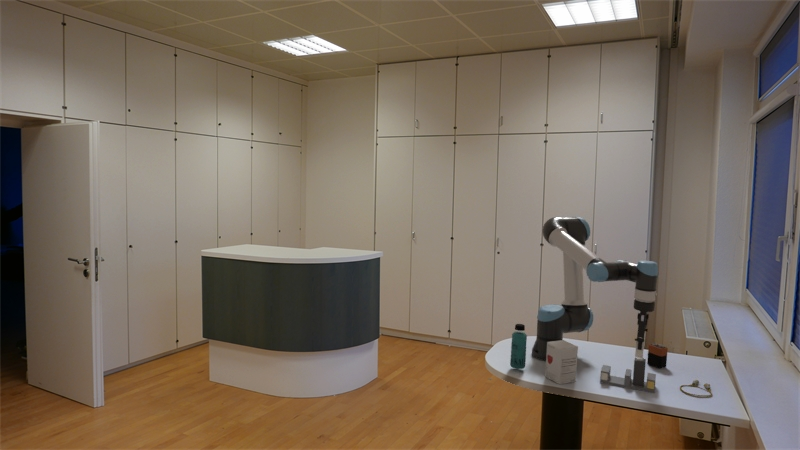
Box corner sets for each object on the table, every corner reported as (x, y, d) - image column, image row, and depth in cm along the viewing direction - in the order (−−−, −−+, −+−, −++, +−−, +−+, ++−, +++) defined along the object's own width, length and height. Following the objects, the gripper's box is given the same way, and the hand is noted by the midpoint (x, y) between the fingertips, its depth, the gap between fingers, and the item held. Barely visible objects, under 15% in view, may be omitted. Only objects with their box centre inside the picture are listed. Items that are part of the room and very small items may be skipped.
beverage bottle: (513, 366, 231) (515, 321, 229) (527, 369, 227) (530, 324, 225) (507, 370, 226) (509, 324, 224) (521, 374, 222) (524, 327, 220)
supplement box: (544, 376, 220) (546, 341, 218) (561, 373, 224) (563, 339, 222) (559, 384, 212) (561, 348, 210) (576, 381, 215) (578, 346, 214)
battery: (660, 369, 232) (661, 346, 231) (646, 364, 238) (648, 342, 237) (666, 367, 234) (668, 345, 233) (653, 362, 240) (654, 341, 239)
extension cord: (725, 394, 207) (726, 389, 207) (698, 400, 201) (698, 395, 201) (697, 383, 218) (697, 378, 218) (670, 388, 212) (670, 383, 212)
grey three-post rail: (600, 382, 215) (600, 371, 214) (602, 376, 222) (603, 364, 221) (654, 393, 205) (655, 380, 205) (655, 386, 213) (655, 374, 212)
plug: (632, 384, 211) (634, 358, 210) (633, 381, 215) (635, 356, 214) (643, 386, 209) (645, 360, 208) (644, 383, 213) (645, 357, 212)
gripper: (654, 308, 196) (648, 363, 198) (655, 294, 218) (651, 344, 220) (632, 305, 199) (627, 359, 202) (636, 292, 221) (631, 341, 224)
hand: (639, 351), depth 211 cm, fingers open, 13 cm apart
